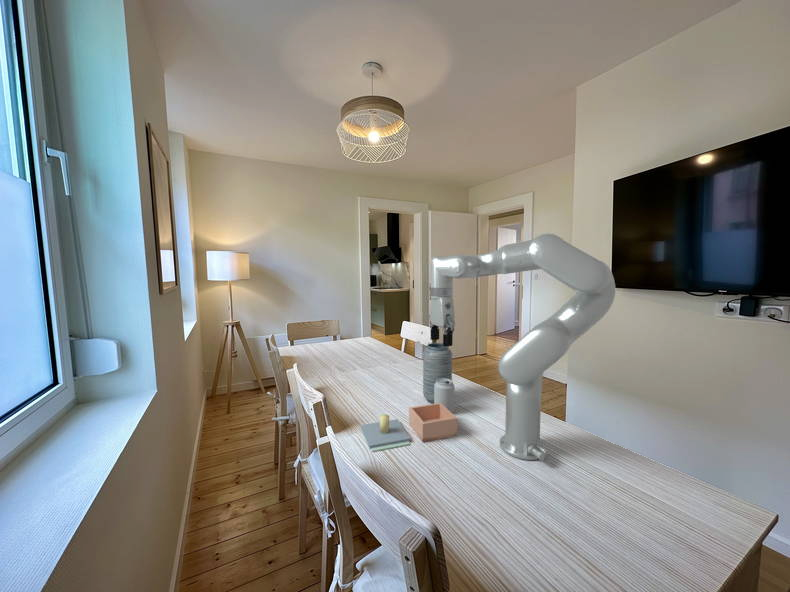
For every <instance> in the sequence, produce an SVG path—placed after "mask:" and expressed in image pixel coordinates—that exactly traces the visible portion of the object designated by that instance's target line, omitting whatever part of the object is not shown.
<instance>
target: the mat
mask: <svg viewBox="0 0 790 592" xmlns="http://www.w3.org/2000/svg"><path fill="white" fill-rule="evenodd" d="M371 423H372V422H371ZM371 423H369V424H371ZM410 442H411V441H407V442H401V443H396V444H390V445H385V446H380V447H374V448H370V450H371V452H372V453H374V452H380V451H385V450H391V449H394V448H402V447H406V446H410V445H411V444H412V443H410Z"/></svg>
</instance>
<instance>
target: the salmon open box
mask: <svg viewBox="0 0 790 592" xmlns="http://www.w3.org/2000/svg"><path fill="white" fill-rule="evenodd" d="M408 425H409V426H410V428H411V427H412V428H411V429H412V431H413V432H414V431H415V432H414V433H415V435H416V436H417V437H418V438H419V440H420V441H421V443H427V442H433V441H437V440H438V441H439V440H442V439H443V440H444V439H449V438H455V437H458V417H457V416H456V415H455V414H454V413H453V412H452V413H451V412H450V411H449V410H448V409H447V408H446V407H445V406H443V405H442V404H441V403H436V404H431V403H429V404H424V405H418V406H416V405H415V406H410V407H408Z"/></svg>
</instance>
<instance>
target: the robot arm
mask: <svg viewBox="0 0 790 592" xmlns="http://www.w3.org/2000/svg"><path fill="white" fill-rule="evenodd" d="M429 265H430V266H429V267H430V273H429V274H430V279H429V281H430V294H429V296H430V297H429V298H431V299H430V310H429V311H430V312H429V316H428V317H429V325H430V326H429V327H430V341H439V340H440V328H441V329H442V331H443V334H442V343H443V346H449V347H451V346H453V337H454V336H453V335H454V331H455V326H456V322H455V321H456V318H455V304H454V298H453V297H454V295H453V292H454V290H453V289H454V279H474V278H481V277H489V276H495V275H507V274H517V273H520V272H521V273H523V272H528V271H537V270H542V271H543V272H546V274H548V275H550V276H551V277H553V278H554V279H556V280H558V281H559V282H561V283H562V284H564V285H565V286H567V287H568V288H570V289H572V290H573V291H575V293H574V295H573V296H572V297H571V298H570V299H569V300H568V301H566V302H565V303H564V304H563V305H562V306H561V307H560V308H559V309H557V311H556V312H555V313H553V314H552V315H550V317H548V318H547V319H546V320H543V321H541V322H540V323H538V324H536V325H534V327H533V328H531V329H530V330H529V331H528V332H526V333H525V334H524V335H523V336H522V337H521V338H519V340H517V341H516V342H515V343H514V344H513V345H512V346H510V347H509V348H508V349H507V350H506V351H505V352H504V353H502V355H501V356H500V358H499V360H498V365H497V368H498V369H497V370H498V372H499V375H500V376H501V378H502V380H503V381H505V382H506V388H505V389H506V390H505V391H506V395H505V431H504V434H503V435H502V436H501V437H500V438H499V446H500V448H501V449H502V451H504V452H505V453H506V454H508V455H510V456H511V457H514V458H517V459H520V460H526V461H534V460H535V461H536V460H540V461H541V462H542V461H544V460H545V458H546V456H549V455H548V454H549V451H548V450H547V449H546V446H545V445H544V443H543V439H541V438H540V437H541V416H542V415H541V413H542V411H541V410H542V409H541V408H542V392H543V391H542V390H543V377H544V372H545V371H547V370H548V369H549V368H551V367H552V366H553V365H554V364H556V363H557V362H558V361H559V360H560V359H562V358H563V357H564V356H565V355H566V354H567V352H568V351H569V349H570V348H571V347H572V345H573V344H574V343H575V342H576V341H577V340H578V339H579V338H581V337H582V336H584V334H586V332H588V331H589V330H590V329H591V328H592V327H594V326H595V325H596V324H597V323H598V322H600V320H602V319H603V318H604V317H605V316H606V314H607V313H608V312H609V310H610V309H611V308H612V305H613V303H614V300H615V296H616V283H615V278H614V275H613V272H612V271H611V269H610V267H609V266H608V264H606V263H605V262H604V261H602V260H599V259H597V258H595V257H594V256H593V255H590V254H588V253H587V252H585V251H584V250H581V249H580V248H578V247H576V246H574V245H572V244H570V243H569V242H568V241H565V239H563V238H562V237H560V236H558V235H556V234H553V233H544V234H543V233H541V234H539V235H537V236H535V238H533V239H530V240H525V241H519V242H515V243H509V244H504V245H502V246H500V248H499V249H496V250H494V251H490V252H486V253H481V254H480V253H479V254H475V255H468V254H455V255H449V256H445V255H444V256H442V255H441V256H433V257H431V259H430V264H429Z"/></svg>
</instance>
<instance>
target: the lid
mask: <svg viewBox="0 0 790 592" xmlns="http://www.w3.org/2000/svg"><path fill="white" fill-rule="evenodd" d="M360 429H361V431H362V434H363V436H364V438H365V442H366V443H367V446H368V448H369V449H371V448H374V447H380V446H385V445H390V444H396V443H401V442H407V441H409V442H411V441H412V440H411V437H410V436H409V434H408V433H407V431H406V430H405V428H404V427H403V425H402V424H401V422H400V421H399V419H398V418H397V419H391V420H390V415H388V414H384V413H383V414H381V415H379V421H377V422H371V424H370V423H364V424H360Z"/></svg>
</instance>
